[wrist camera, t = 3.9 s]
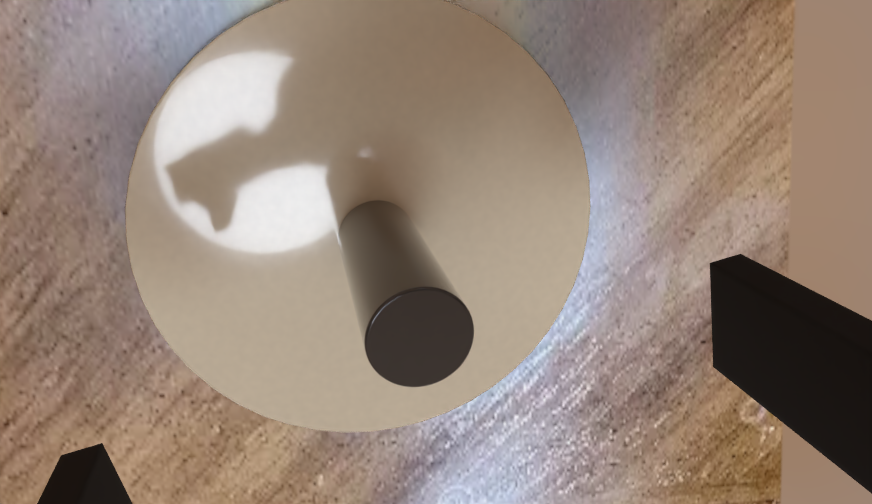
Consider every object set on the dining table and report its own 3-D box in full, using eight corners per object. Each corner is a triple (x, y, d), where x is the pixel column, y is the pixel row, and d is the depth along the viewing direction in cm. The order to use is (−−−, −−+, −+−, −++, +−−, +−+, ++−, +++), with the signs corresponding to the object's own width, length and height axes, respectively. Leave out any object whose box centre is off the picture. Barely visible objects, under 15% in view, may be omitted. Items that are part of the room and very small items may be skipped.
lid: (550, -57, 22) (715, -101, 14) (596, 351, 29) (728, 490, 20) (49, 48, 20) (-121, 72, 11) (221, 465, 26) (194, 677, 18)
